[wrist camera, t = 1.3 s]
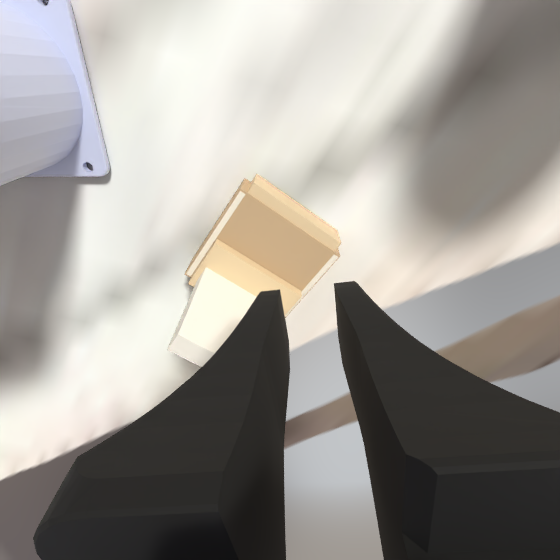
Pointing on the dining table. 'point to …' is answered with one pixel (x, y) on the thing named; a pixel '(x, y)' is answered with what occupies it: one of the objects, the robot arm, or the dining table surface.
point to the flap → (222, 301)
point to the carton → (274, 235)
